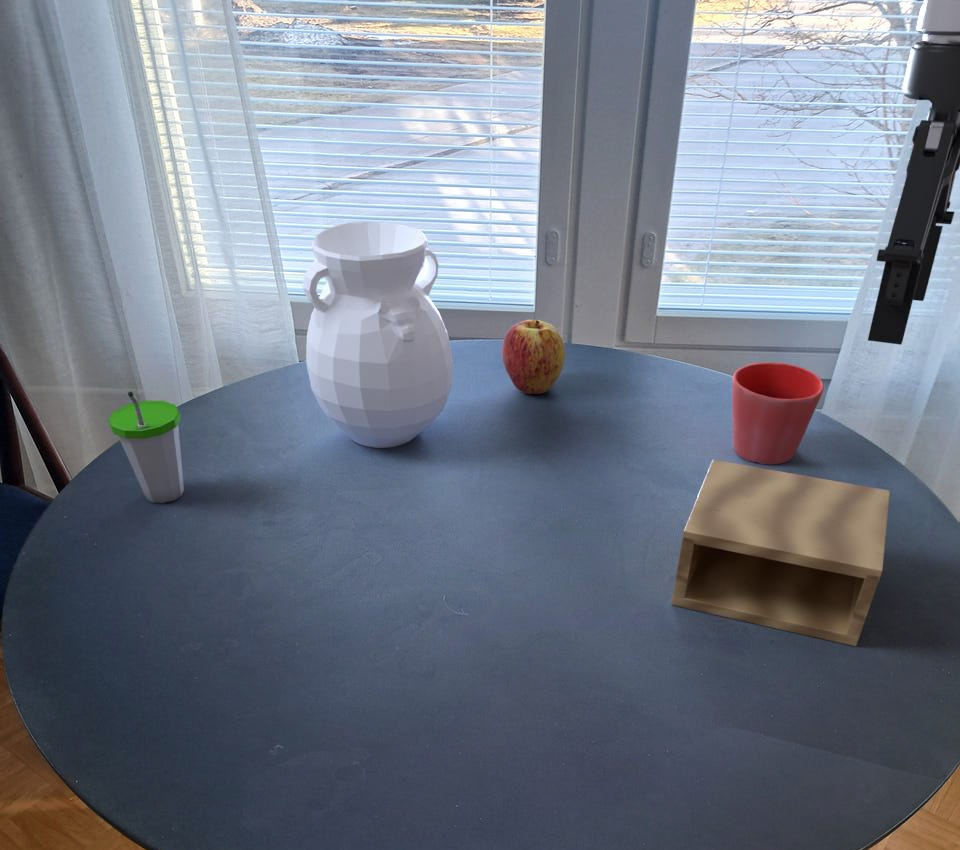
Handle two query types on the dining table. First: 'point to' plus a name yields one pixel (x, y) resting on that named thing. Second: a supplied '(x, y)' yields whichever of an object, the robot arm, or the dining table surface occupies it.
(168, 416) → the cup
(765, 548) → the cubby shelf
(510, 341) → the apple
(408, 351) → the white handled vase
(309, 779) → the dining table surface
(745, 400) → the flower pot
